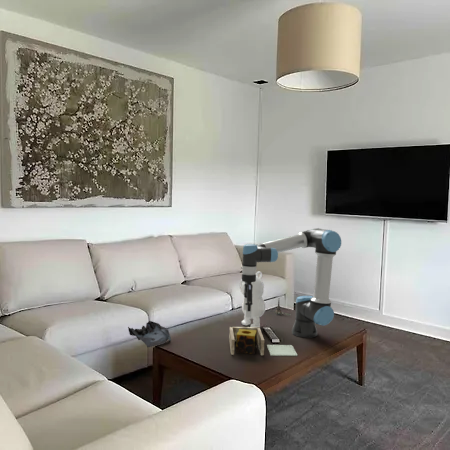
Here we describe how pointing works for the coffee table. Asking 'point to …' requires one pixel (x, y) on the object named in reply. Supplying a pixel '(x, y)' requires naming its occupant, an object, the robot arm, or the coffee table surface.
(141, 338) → the crumpled grey paper
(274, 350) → the felt mat
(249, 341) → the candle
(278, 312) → the eiffel tower figurine
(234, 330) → the wooden u-shaped frame
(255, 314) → the teddy bear
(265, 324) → the coffee table surface
